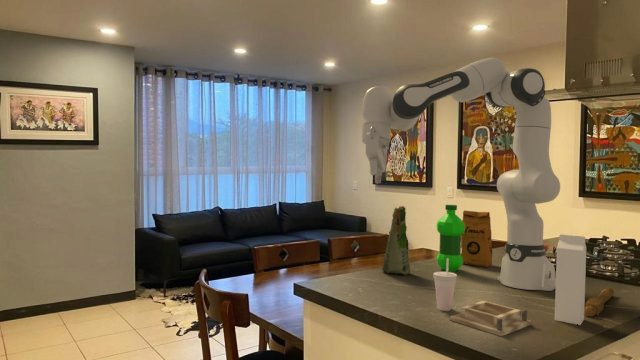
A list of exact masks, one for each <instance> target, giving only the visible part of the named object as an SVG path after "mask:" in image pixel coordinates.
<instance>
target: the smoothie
mask: <svg viewBox="0 0 640 360" xmlns="http://www.w3.org/2000/svg"><path fill="white" fill-rule="evenodd" d="M448 266H449V258H447V263H446V271H435V272H433V276H432V277H433V278H434V286H435V287H434V288H435V298H436V308H437V309H436V310H439V311H443V312H444V311H445V312H449V311H452V306H453V299H454V294H455V288H456V280H458V275H457V273H454V272H452V271H448Z"/></svg>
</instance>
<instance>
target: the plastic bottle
mask: <svg viewBox="0 0 640 360" xmlns="http://www.w3.org/2000/svg"><path fill="white" fill-rule="evenodd" d="M445 210H446V214H444V215H443V216H442V217H441V218H440V219H438V220H437V222H436V230H437V232H438V233H439V252H438V254H437V256H436V262H437V265H438V266H439V267H440V268H441V269H442V270H443V272H446V263H447V258H449V266H448V272H457V270H459V269H460V268H461V267H463V264H464V263H463V258H462V256H461V251H462V249H461V235H462V234H463V233H464V231H465V225H464V222H463V221H462V220H463V219H461V218H460V217H459V216H458V215H457V214H456V211H457V210H458V205H457V204H445Z"/></svg>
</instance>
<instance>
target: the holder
mask: <svg viewBox="0 0 640 360" xmlns="http://www.w3.org/2000/svg"><path fill="white" fill-rule="evenodd" d="M449 318H450V319H449V320H450V321H452V322H454V323H458V324H461V325H464V326H467V327H470V328H473V329H477V330H480V331H483V332H486V333H489V334H492V335H496V336H499V337H503V336H506V335H508V334H510V333H514V332H516V331H519V330H522V329H523V328H526V327H530V326H532V320H530V319H528V310H527V309H522V310H521V309H518V308H513V307H510V306H506V305H502V304H498V303H494V302H490V301H486V300H481V301H478V302H474V303H471V304H467V305H464V306H461V307H460V313H458V314H454V315H450V317H449Z"/></svg>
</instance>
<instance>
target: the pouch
mask: <svg viewBox="0 0 640 360" xmlns="http://www.w3.org/2000/svg"><path fill="white" fill-rule="evenodd" d="M406 214H407V212H406V207H405V206H404V205H403V206H402V205H400V206H399V207H398V208H397V207H395V208H394V210H393V213H392V219H391V227H390V230H389V232H388V234H389V235H388V238H387V242H386V248H385V254H384V259H383V263H382V268H381V271H383V272H384V273H385V272H386V274H389V273H390V274H399V275H403V276H407V275H409V274H410V273H411V269H410V268H411V266H410V261H409V260H410V258H409V257H410V256H409V251H408V249H407V241H408V237H407V223H406Z"/></svg>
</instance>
